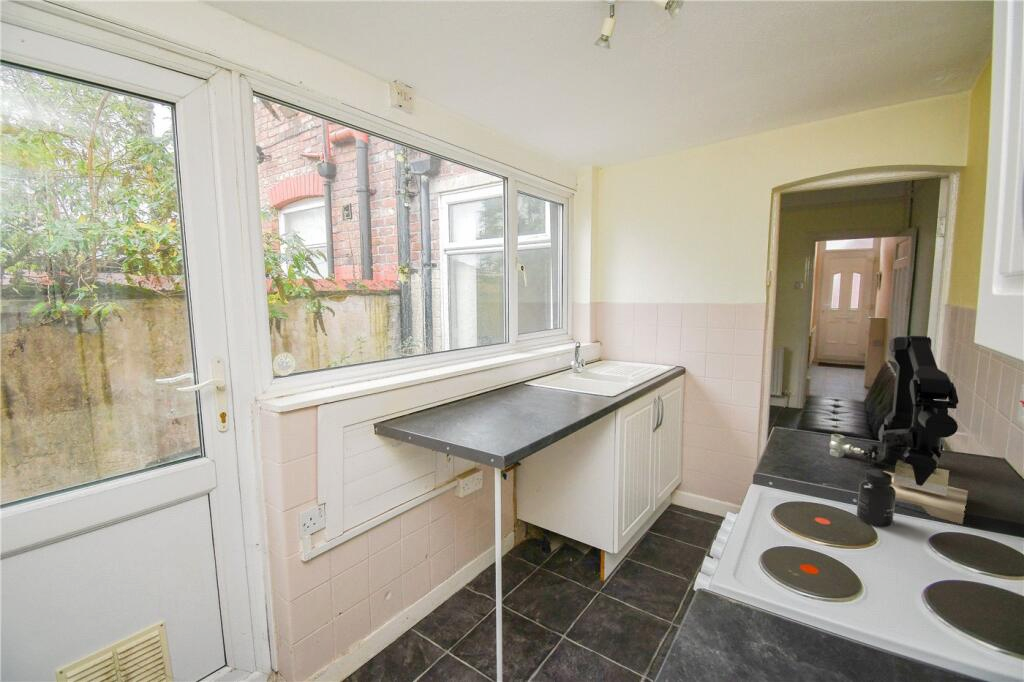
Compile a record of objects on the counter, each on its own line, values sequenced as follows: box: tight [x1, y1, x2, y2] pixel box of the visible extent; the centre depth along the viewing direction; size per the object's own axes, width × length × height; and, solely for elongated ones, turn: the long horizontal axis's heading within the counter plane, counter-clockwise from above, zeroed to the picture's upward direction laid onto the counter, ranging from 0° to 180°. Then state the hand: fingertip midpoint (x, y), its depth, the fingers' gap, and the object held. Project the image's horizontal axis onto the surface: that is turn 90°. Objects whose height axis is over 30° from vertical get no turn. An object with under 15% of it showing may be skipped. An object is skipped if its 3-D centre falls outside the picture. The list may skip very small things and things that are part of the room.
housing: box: [894, 460, 950, 496], centre depth 115 cm, size 10×5×5 cm, turn 45°
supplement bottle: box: [856, 469, 896, 528], centre depth 106 cm, size 7×7×12 cm
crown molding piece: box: [882, 470, 969, 525], centre depth 116 cm, size 16×17×2 cm
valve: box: [829, 433, 880, 466], centre depth 141 cm, size 7×7×12 cm
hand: (920, 481), depth 115 cm, fingers closed on housing, 5 cm apart
